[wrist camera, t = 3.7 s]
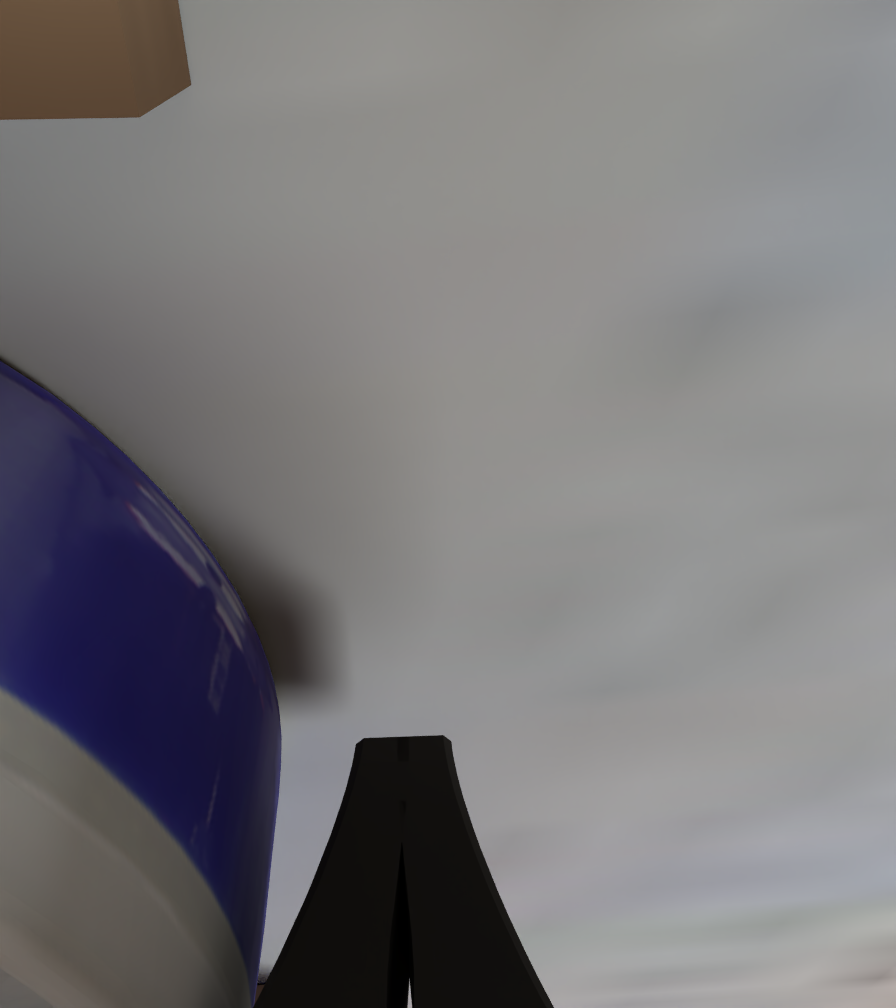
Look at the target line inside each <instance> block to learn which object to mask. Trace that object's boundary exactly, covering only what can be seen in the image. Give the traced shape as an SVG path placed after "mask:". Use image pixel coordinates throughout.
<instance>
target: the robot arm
mask: <svg viewBox="0 0 896 1008" xmlns="http://www.w3.org/2000/svg"><path fill="white" fill-rule="evenodd" d="M409 978H410V987H411V998H412V1008H554V1007H553V1005H552V1003H551V1001H550V999H549V997H548V996H547V994H546V992H545V990H544V988H543V986H542V984H541V982H540V980H539V978H538V976H537V974H536V972H535V970H534V968H533V966H532V964H531V962H530V960H529V958H528V956H527V954H526V952H525V950H524V948H523V946H522V944H521V941H520V939H519V937H518V935H517V933H516V931H515V929H514V927H513V924H512V922H511V920H510V918H509V916H508V914H507V911H506V909H505V907H504V904H503V902H502V900H501V898H500V895H499V893H498V891H497V888H496V886H495V883H494V881H493V878H492V876H491V873H490V871H489V868H488V866H487V863H486V861H485V858H484V856H483V853H482V851H481V848H480V846H479V843H478V840H477V837H476V835H475V832H474V829H473V826H472V823H471V820H470V817H469V814H468V811H467V808H466V805H465V802H464V798H463V795H462V791H461V788H460V784H459V780H458V776H457V772H456V767H455V763H454V758H453V752H452V744H451V741H450V740H449V739H447V738H446V737H445V736H443V735H438V736H411V737H383V738H364V739H362V740H361V741H360V742H358V743H357V744H356V747H355V753H354V758H353V763H352V767H351V771H350V775H349V779H348V783H347V787H346V790H345V793H344V797H343V800H342V803H341V806H340V809H339V812H338V815H337V818H336V821H335V824H334V827H333V830H332V833H331V835H330V838H329V841H328V843H327V846H326V848H325V851H324V853H323V856H322V858H321V861H320V864H319V866H318V869H317V871H316V874H315V876H314V879H313V882H312V884H311V886H310V889H309V891H308V894H307V896H306V898H305V900H304V903H303V905H302V907H301V909H300V911H299V914H298V916H297V918H296V920H295V922H294V925H293V927H292V929H291V931H290V933H289V935H288V938H287V940H286V942H285V944H284V946H283V949H282V951H281V953H280V955H279V957H278V959H277V961H276V963H275V965H274V967H273V969H272V971H271V973H270V975H269V977H268V979H267V981H266V983H265V985H264V987H263V989H262V991H261V993H260V995H259V997H258V999H257V1001H256V1003H255V1005H254V1006H253V1008H407V1005H408V991H409Z"/></svg>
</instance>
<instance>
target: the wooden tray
mask: <svg viewBox="0 0 896 1008" xmlns="http://www.w3.org/2000/svg"><path fill="white" fill-rule="evenodd" d="M190 85H191V81H190V74H189V68H188V62H187V55H186V49H185V42H184V36H183V30H182V23H181V17H180V11H179V4H178V0H0V120H9V119H68V118H128V117H141V116H142V115H144V114H146V113H147V112H149V111H150V110H152V109H154V108H155V107H157V106H158V105H160V104H162V103H163V102H165V101H166V100H168V99H169V98H171V97H173V96H174V95H176V94H177V93H179V92H181V91H182V90H184V89H185V88H187V87H189V86H190ZM263 987H264V985H257V987H256V994H255V1002H254V1005H255V1003H256V1001H257V999H258V997H259V995H260V993H261V991H262V989H263Z"/></svg>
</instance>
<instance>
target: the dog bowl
mask: <svg viewBox="0 0 896 1008" xmlns="http://www.w3.org/2000/svg"><path fill="white" fill-rule="evenodd" d="M280 770H281V725H280V714H279V706H278V701H277V695H276V690H275V684H274V681H273V677H272V673H271V670H270V666H269V663H268V660H267V658H266V655H265V653H264V650H263V647H262V645H261V642H260V639H259V636H258V634H257V632H256V630H255V628H254V626H253V624H252V622H251V620H250V618H249V616H248V614H247V612H246V610H245V608H244V606H243V604H242V602H241V599H240V597H239V595H238V593H237V592H236V590H235V589H234V587H233V585H232V584H231V582H230V581H229V579H228V578H227V576H226V574H225V573H224V571H223V570H222V568H221V567H220V565H219V563H218V562H217V560H216V559H215V557H214V556H213V554H212V553H211V551H210V550H209V549H208V547H207V546H206V545H205V543H204V542H203V541H202V539H201V538H200V537H199V536H198V534H197V533H196V532H195V530H194V529H193V528H192V526H191V525H190V524H189V522H188V521H187V520H186V519H185V517H184V516H183V515H182V514H181V513H180V512H179V510H178V509H177V508H176V507H175V506H174V505H173V504H172V502H171V501H170V500H169V499H168V498H167V497H166V496H165V494H164V493H163V492H162V491H161V490H160V489H159V488H158V487H157V486H156V485H155V484H154V483H153V482H152V481H151V480H150V479H149V478H148V477H147V476H146V475H145V474H144V473H143V472H142V471H141V470H140V469H139V468H138V467H137V466H136V465H135V464H134V463H133V462H132V461H131V460H130V459H129V458H128V457H127V456H126V455H125V454H124V453H123V452H122V451H121V450H120V449H118V448H117V447H116V446H115V445H114V444H113V443H112V442H110V441H109V440H108V439H107V438H106V437H105V436H104V435H102V434H101V433H100V432H99V431H98V430H97V429H96V428H95V427H93V426H92V425H91V424H89V423H88V422H87V421H86V420H84V419H83V418H82V417H81V416H79V415H78V414H77V413H76V412H74V411H73V410H72V409H70V408H69V407H68V406H67V405H65V404H64V403H63V402H62V401H60V400H59V399H58V398H56V397H55V396H54V395H53V394H51V393H50V392H48V391H46V390H45V389H43V388H42V387H40V386H39V385H37V384H36V383H34V382H32V381H31V380H29V379H28V378H26V377H25V376H23V375H22V374H20V373H19V372H17V371H15V370H14V369H12V368H11V367H9V366H8V365H6V364H5V363H3V362H1V361H0V1008H253V1006H254V1002H255V994H256V987H257V979H258V972H259V964H260V957H261V949H262V942H263V934H264V926H265V917H266V907H267V898H268V888H269V879H270V869H271V860H272V850H273V841H274V832H275V824H276V815H277V806H278V797H279V784H280Z"/></svg>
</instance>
